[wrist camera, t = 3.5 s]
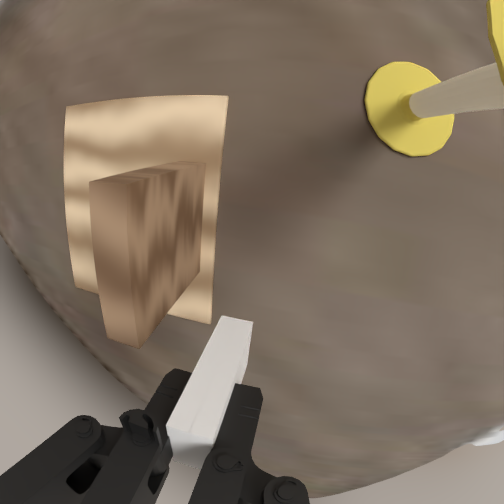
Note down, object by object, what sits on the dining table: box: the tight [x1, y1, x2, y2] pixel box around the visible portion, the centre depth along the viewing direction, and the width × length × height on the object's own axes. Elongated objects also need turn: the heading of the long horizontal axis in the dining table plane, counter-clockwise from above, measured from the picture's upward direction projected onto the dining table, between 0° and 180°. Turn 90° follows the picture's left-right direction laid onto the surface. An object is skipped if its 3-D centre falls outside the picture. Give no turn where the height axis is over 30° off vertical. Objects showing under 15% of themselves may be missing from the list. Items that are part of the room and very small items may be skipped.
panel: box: [89, 161, 206, 349], centre depth 24 cm, size 12×3×14 cm, turn 174°
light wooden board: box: [64, 95, 229, 324], centre depth 31 cm, size 26×22×1 cm
